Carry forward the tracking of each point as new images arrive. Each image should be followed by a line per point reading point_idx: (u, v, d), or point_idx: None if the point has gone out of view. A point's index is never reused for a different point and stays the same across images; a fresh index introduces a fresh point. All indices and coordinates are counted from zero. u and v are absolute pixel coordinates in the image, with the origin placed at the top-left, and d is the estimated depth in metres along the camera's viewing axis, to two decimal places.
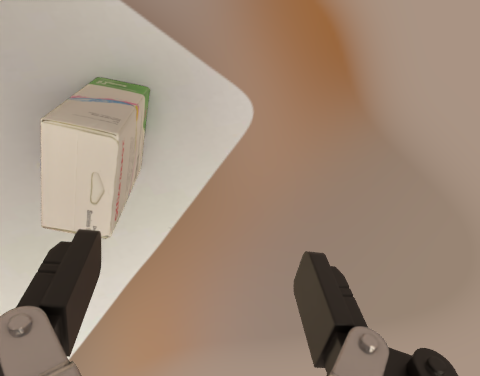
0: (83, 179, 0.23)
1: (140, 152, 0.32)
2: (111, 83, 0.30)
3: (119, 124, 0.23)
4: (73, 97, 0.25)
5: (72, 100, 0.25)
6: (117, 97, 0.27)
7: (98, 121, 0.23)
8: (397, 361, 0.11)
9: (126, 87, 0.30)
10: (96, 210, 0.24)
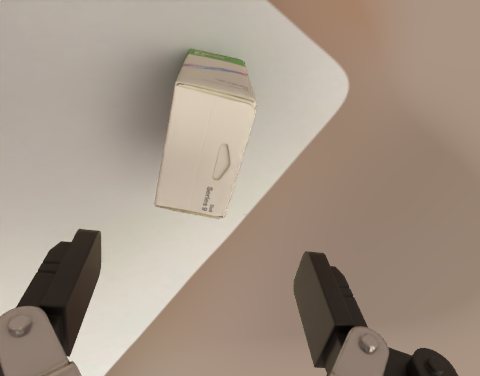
0: (210, 152, 0.21)
1: None
2: (208, 55, 0.28)
3: (249, 91, 0.21)
4: (187, 64, 0.23)
5: (189, 67, 0.23)
6: (226, 66, 0.25)
7: (229, 86, 0.21)
8: (397, 361, 0.11)
9: (225, 59, 0.28)
10: (217, 187, 0.22)
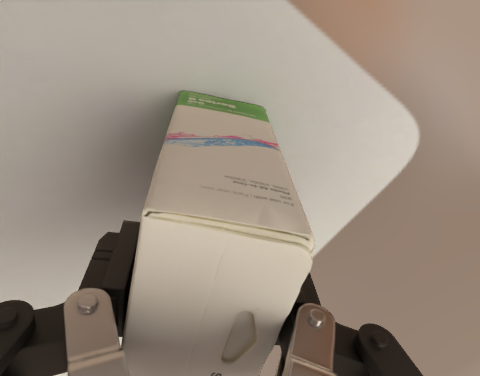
0: (218, 324, 0.11)
1: None
2: (210, 102, 0.18)
3: (296, 204, 0.11)
4: (173, 137, 0.13)
5: (177, 145, 0.12)
6: (241, 131, 0.15)
7: (257, 200, 0.10)
8: (345, 336, 0.11)
9: (237, 109, 0.18)
10: (230, 372, 0.12)
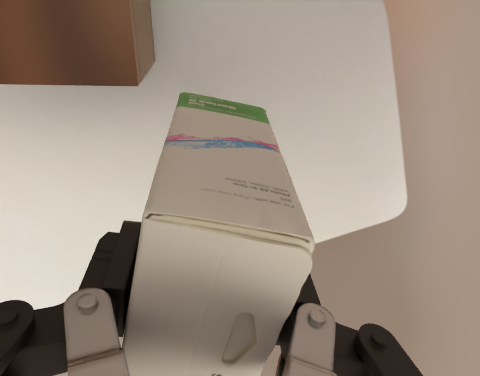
0: (218, 326, 0.11)
1: None
2: (211, 103, 0.18)
3: (296, 206, 0.11)
4: (174, 139, 0.13)
5: (177, 147, 0.12)
6: (241, 132, 0.15)
7: (256, 202, 0.10)
8: (345, 336, 0.11)
9: (237, 110, 0.18)
10: (230, 374, 0.12)
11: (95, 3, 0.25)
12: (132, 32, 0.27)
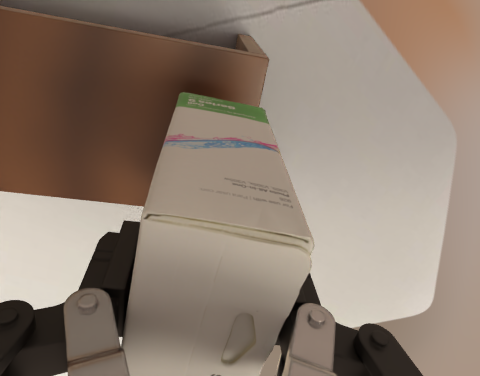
0: (217, 326, 0.11)
1: None
2: (210, 103, 0.18)
3: (295, 206, 0.11)
4: (173, 139, 0.13)
5: (176, 147, 0.12)
6: (240, 132, 0.15)
7: (255, 202, 0.10)
8: (345, 336, 0.11)
9: (236, 110, 0.18)
10: (230, 374, 0.12)
11: None
12: None
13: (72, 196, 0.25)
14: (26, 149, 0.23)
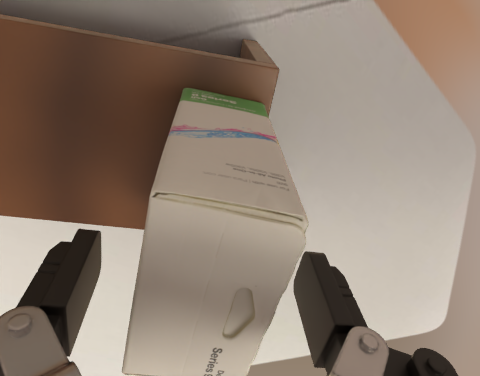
0: (219, 300, 0.12)
1: None
2: (212, 98, 0.18)
3: (291, 189, 0.11)
4: (178, 129, 0.14)
5: (181, 136, 0.13)
6: (241, 124, 0.16)
7: (255, 185, 0.11)
8: (397, 361, 0.11)
9: (237, 104, 0.18)
10: (231, 348, 0.13)
11: None
12: None
13: (61, 219, 0.23)
14: (9, 168, 0.21)
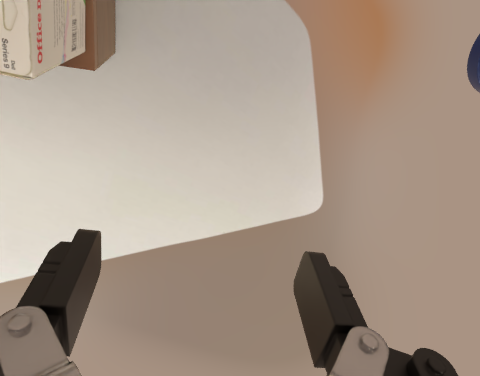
0: None
1: (78, 22, 0.30)
2: None
3: None
4: None
5: None
6: None
7: None
8: (397, 361, 0.11)
9: None
10: (12, 38, 0.22)
11: None
12: (94, 27, 0.33)
13: None
14: None
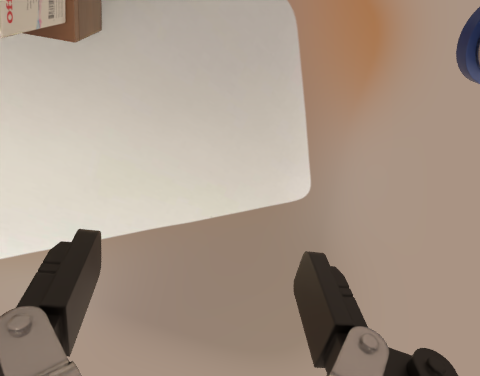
0: None
1: None
2: None
3: None
4: None
5: None
6: None
7: None
8: (397, 361, 0.11)
9: None
10: None
11: None
12: None
13: None
14: None
